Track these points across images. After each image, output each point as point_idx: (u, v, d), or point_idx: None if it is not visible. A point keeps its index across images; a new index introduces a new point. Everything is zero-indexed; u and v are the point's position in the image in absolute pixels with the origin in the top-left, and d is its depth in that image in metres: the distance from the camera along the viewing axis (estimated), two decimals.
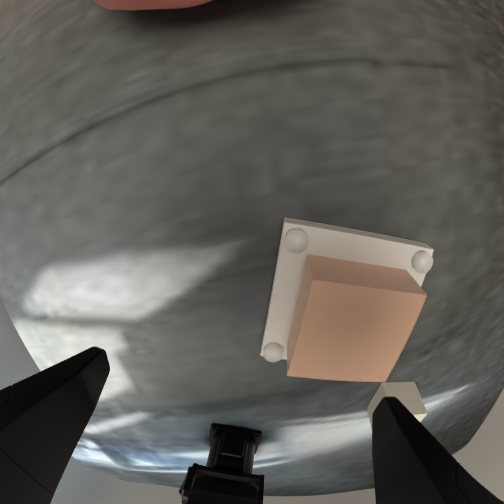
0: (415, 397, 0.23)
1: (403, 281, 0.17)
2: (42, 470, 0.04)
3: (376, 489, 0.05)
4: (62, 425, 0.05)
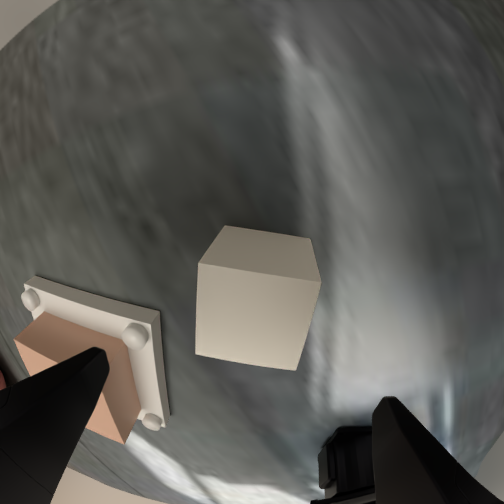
0: None
1: None
2: (42, 470, 0.04)
3: (376, 489, 0.05)
4: (62, 425, 0.05)
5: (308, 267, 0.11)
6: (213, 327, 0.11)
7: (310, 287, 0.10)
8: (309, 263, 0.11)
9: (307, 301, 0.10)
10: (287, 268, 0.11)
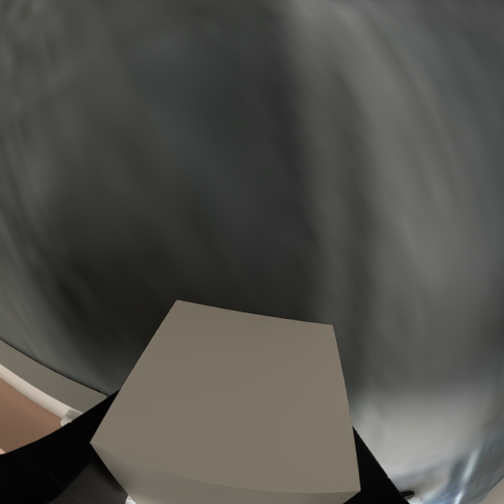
0: None
1: None
2: None
3: None
4: None
5: (335, 436, 0.04)
6: (154, 501, 0.04)
7: (334, 496, 0.03)
8: (336, 422, 0.04)
9: None
10: (288, 455, 0.04)
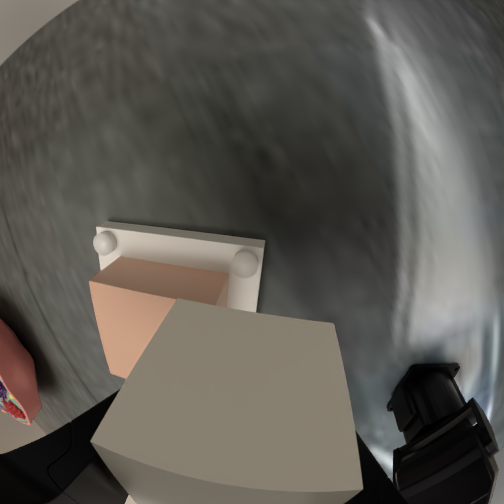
0: None
1: None
2: None
3: None
4: None
5: (337, 434, 0.04)
6: (154, 500, 0.04)
7: (337, 495, 0.03)
8: (338, 420, 0.04)
9: None
10: (290, 453, 0.04)
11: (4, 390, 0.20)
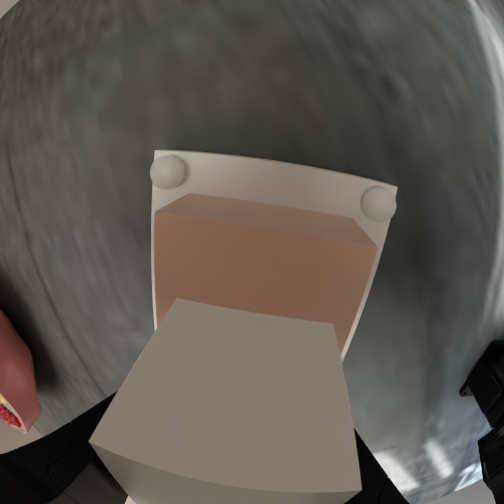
0: None
1: None
2: None
3: None
4: None
5: (335, 435, 0.04)
6: (153, 500, 0.04)
7: (335, 496, 0.03)
8: (337, 420, 0.04)
9: None
10: (289, 454, 0.04)
11: None
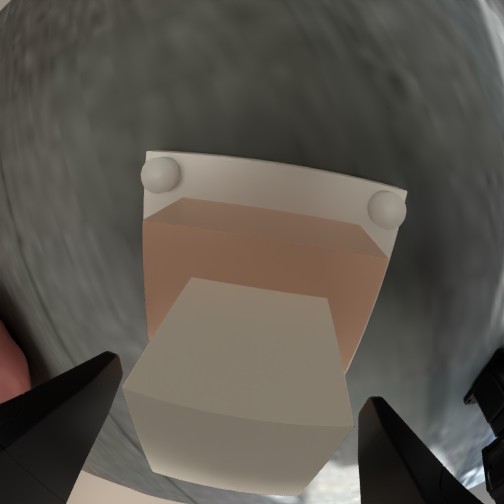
0: None
1: None
2: (55, 478, 0.04)
3: (361, 491, 0.05)
4: (76, 433, 0.05)
5: (330, 382, 0.05)
6: (170, 457, 0.06)
7: (332, 433, 0.04)
8: (330, 370, 0.06)
9: (323, 446, 0.05)
10: (291, 394, 0.05)
11: None
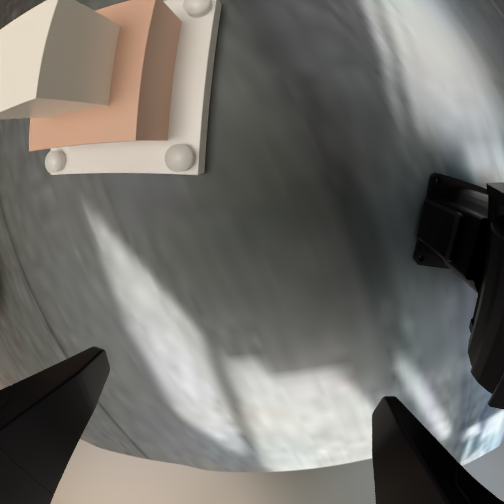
0: None
1: None
2: (42, 469, 0.04)
3: (376, 489, 0.05)
4: (62, 425, 0.05)
5: (71, 5, 0.06)
6: None
7: (52, 1, 0.05)
8: None
9: (48, 13, 0.05)
10: None
11: None
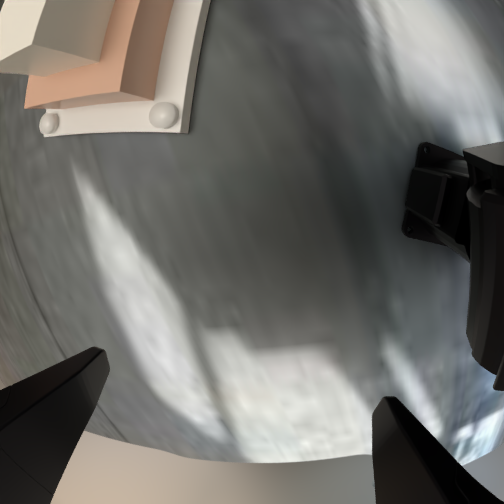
0: None
1: None
2: (42, 469, 0.04)
3: (376, 489, 0.05)
4: (62, 425, 0.05)
5: None
6: None
7: None
8: None
9: None
10: None
11: None
